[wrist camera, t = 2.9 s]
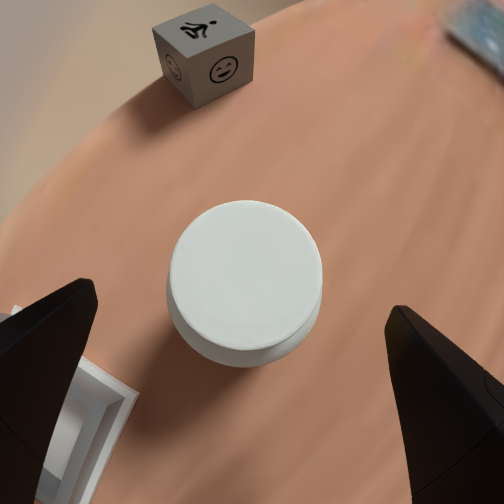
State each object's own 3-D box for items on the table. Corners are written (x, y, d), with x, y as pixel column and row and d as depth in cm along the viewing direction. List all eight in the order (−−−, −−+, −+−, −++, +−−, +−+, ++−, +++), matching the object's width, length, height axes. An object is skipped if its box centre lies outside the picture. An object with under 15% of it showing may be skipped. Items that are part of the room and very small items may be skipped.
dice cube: (163, 75, 22) (151, 28, 17) (216, 50, 23) (213, 3, 18) (195, 109, 21) (187, 58, 16) (252, 80, 22) (255, 30, 17)
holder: (88, 508, 13) (68, 527, 10) (-17, 420, 14) (-44, 425, 11) (139, 393, 16) (120, 402, 13) (19, 306, 17) (-10, 299, 14)
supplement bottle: (177, 328, 17) (105, 315, 8) (221, 243, 18) (201, 148, 9) (266, 373, 16) (294, 411, 7) (308, 284, 18) (373, 226, 9)
